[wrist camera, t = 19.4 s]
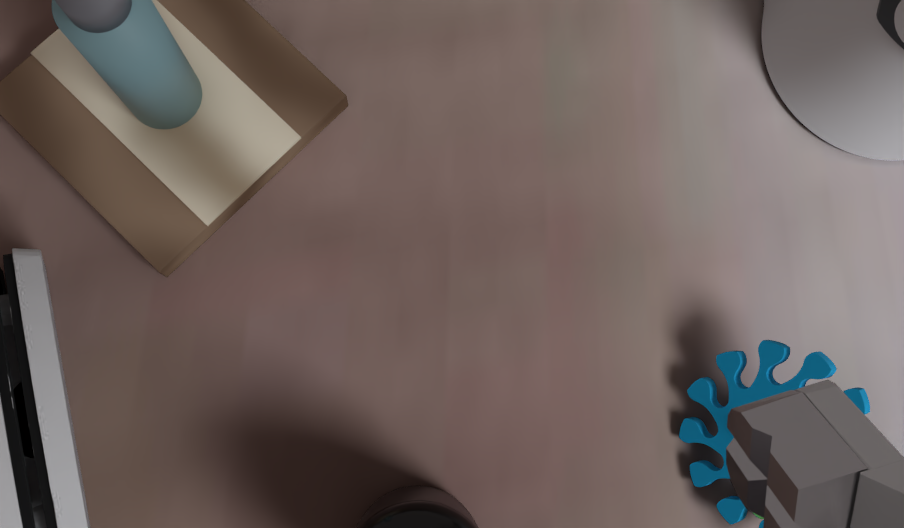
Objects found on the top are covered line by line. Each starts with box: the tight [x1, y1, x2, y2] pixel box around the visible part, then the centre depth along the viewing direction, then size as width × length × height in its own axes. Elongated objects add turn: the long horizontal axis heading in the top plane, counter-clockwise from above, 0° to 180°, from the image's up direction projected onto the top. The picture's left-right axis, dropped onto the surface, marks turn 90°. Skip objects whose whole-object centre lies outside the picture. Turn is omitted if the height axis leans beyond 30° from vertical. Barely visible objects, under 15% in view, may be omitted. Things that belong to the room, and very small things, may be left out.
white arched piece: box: [0, 248, 90, 528], centre depth 40 cm, size 17×5×10 cm, turn 14°
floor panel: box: [0, 0, 348, 277], centre depth 47 cm, size 14×14×2 cm
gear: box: [679, 340, 870, 528], centre depth 44 cm, size 11×6×10 cm
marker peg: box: [52, 0, 202, 129], centre depth 40 cm, size 4×4×12 cm
